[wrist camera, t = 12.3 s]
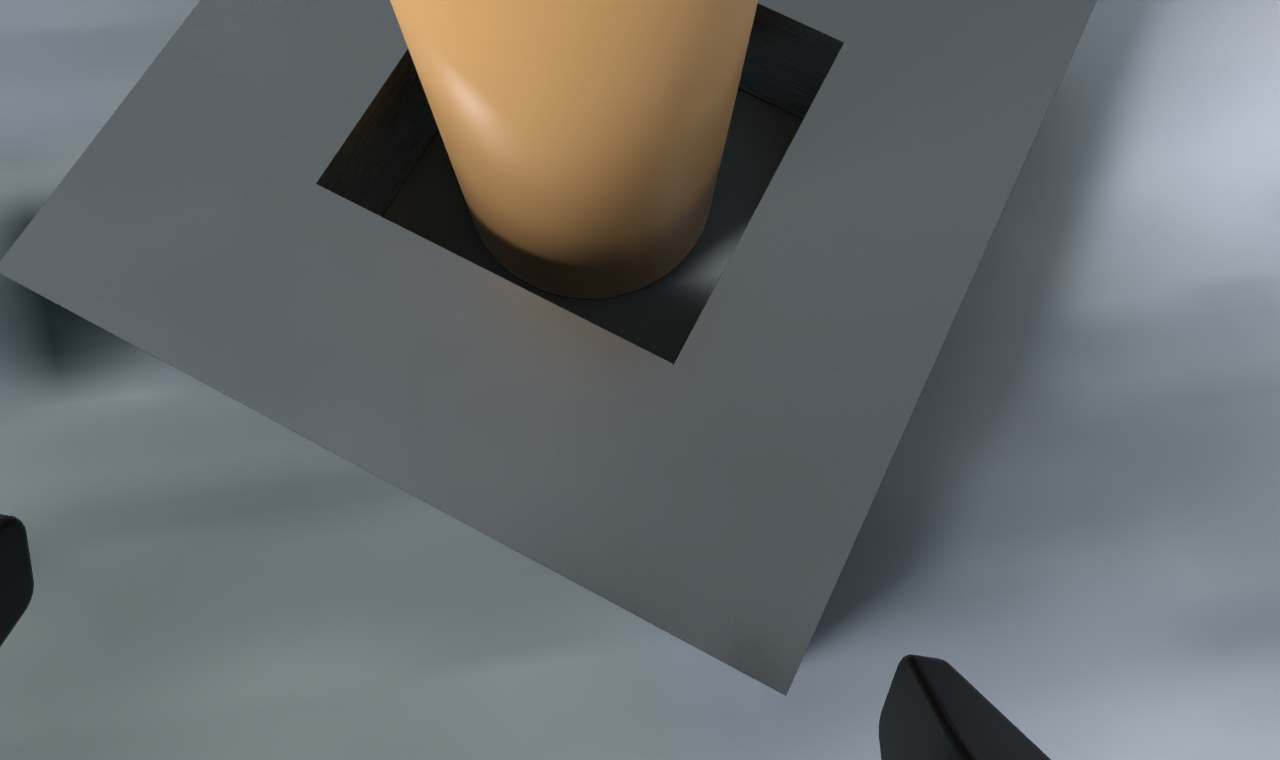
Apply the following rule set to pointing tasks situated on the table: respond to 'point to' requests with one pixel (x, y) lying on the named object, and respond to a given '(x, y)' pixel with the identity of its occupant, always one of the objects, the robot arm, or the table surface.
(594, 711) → the table surface
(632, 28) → the plug
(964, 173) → the grey square frame
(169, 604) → the table surface
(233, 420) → the table surface
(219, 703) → the table surface
